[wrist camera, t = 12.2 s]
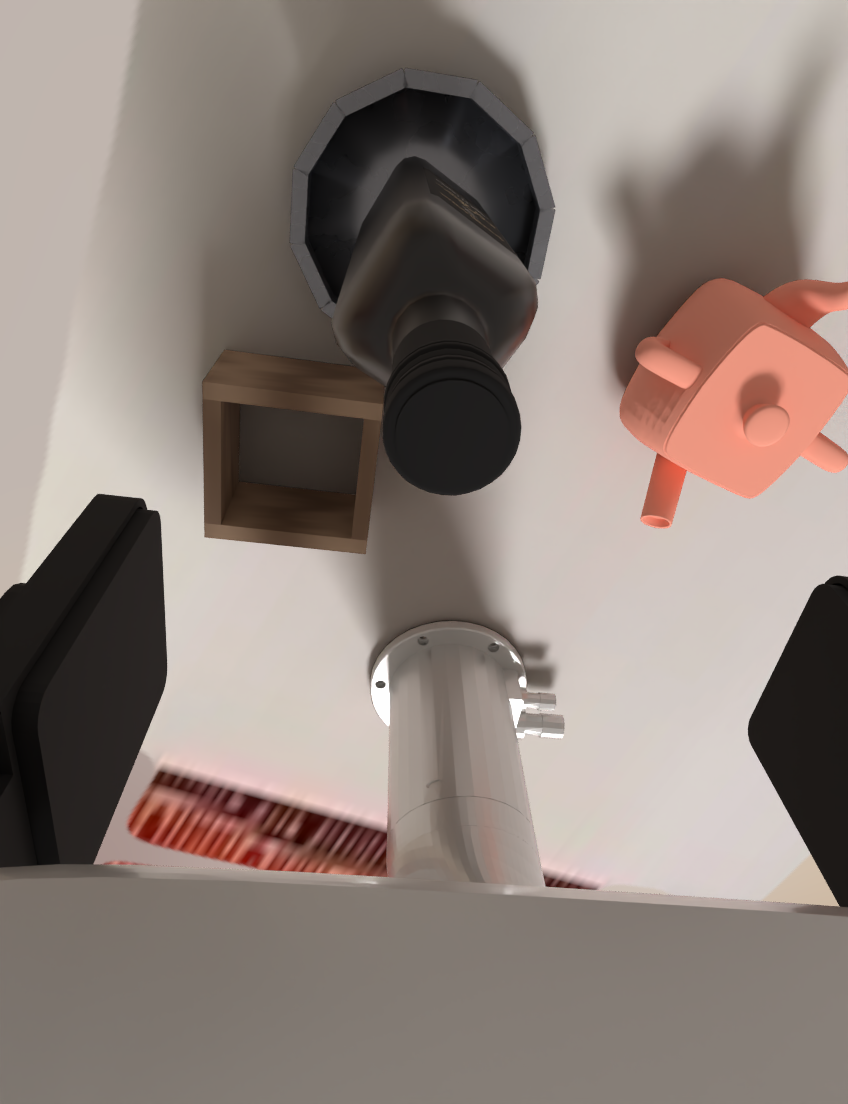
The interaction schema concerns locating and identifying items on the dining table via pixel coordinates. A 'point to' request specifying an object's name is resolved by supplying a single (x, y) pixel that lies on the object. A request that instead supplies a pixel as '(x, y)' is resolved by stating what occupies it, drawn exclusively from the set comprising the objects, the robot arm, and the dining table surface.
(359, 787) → the dining table surface
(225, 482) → the open square wooden box
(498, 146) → the serving bowl
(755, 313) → the teapot
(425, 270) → the wine bottle
